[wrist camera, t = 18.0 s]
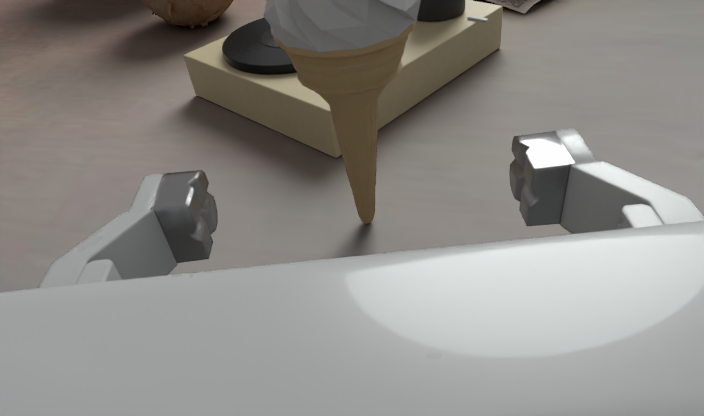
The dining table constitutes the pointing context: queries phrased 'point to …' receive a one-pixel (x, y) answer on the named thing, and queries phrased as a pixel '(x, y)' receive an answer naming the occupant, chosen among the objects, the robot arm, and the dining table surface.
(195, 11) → the onion
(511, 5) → the newspaper
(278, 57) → the burner
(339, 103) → the ice cream cone
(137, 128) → the dining table surface
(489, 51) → the hob
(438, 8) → the hob knob
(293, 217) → the dining table surface
